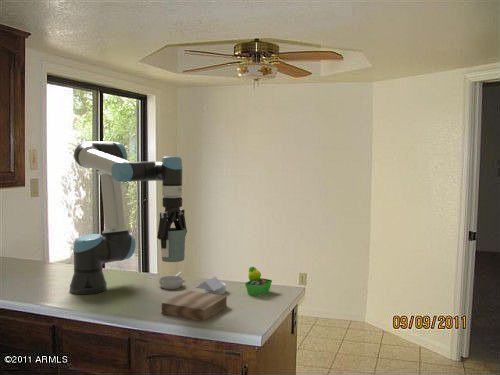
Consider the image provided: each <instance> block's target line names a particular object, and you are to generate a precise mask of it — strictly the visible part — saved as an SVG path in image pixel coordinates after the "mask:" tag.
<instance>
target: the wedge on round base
mask: <svg viewBox="0 0 500 375" xmlns="http://www.w3.org/2000/svg"><path fill="white" fill-rule="evenodd" d="M226 286H227V285H226V283H225V282H223V281H220V280H219V279H218V277H216V276H214V277H211V278H209V279H207V280H205V281H203V282H202V283H200V284H199V285H198V286H196V287H195V288H196V289H201V290H204V293H209V294H215V295H223V294H225V293H226V290H227V289H226V288H227V287H226Z"/></svg>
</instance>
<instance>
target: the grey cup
mask: <svg viewBox="0 0 500 375" xmlns="http://www.w3.org/2000/svg"><path fill="white" fill-rule="evenodd" d="M186 229H187V228H186ZM186 229H185V228H182V230H176V227H170V231H168V238H167V240H169V257H162V256H161V260H162V262H166V263H178V262H179V263H180V262H183V261H184V260H185V249H186V236H185V234H186V235H187V233H186ZM160 236H161V235H160ZM160 248H161V247H160ZM160 251H161V253H162V248H161V249H160Z"/></svg>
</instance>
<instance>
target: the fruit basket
mask: <svg viewBox="0 0 500 375" xmlns="http://www.w3.org/2000/svg"><path fill="white" fill-rule="evenodd" d="M247 276H248V279H249V281H246V282H244V285H245V288H246V291H247V294H248V295H249V296H253V297H260V296H262V295H265V294H266V293H269V292H270V288H271V285H272V282H273V280H272V279H268V278H263V277H261V276H262V274H261V272H260V270H258V269H257V268H256V267H255V266H249V268H248V274H247Z"/></svg>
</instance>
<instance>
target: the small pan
mask: <svg viewBox="0 0 500 375" xmlns="http://www.w3.org/2000/svg"><path fill="white" fill-rule="evenodd" d="M180 274H182V271H179V272H177V273H176V274H175V275H166V276H161V277H160V278H158V282H159V283H158V284H159V285H160V288H163V289H165V290H175V289H180V288H181V287H182V285H183V283H184V277H182V276H180Z"/></svg>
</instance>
